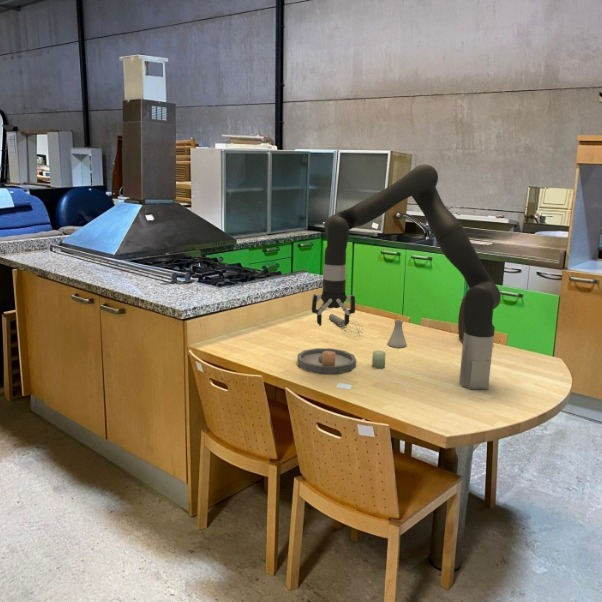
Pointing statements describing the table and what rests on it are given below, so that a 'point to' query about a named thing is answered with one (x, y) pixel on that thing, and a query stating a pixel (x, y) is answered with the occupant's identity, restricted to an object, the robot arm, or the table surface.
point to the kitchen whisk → (342, 322)
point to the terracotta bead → (328, 358)
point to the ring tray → (313, 361)
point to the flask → (397, 336)
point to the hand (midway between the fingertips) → (332, 325)
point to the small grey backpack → (461, 321)
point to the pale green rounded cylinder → (378, 359)
